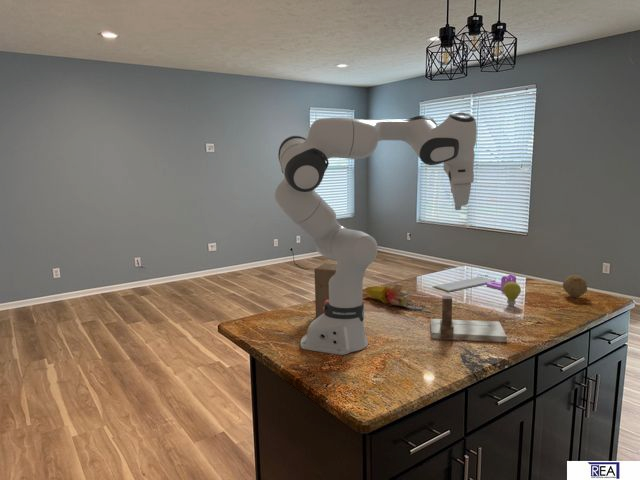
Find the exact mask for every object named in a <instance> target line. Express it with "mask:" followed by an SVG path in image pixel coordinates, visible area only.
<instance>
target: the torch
mask: <svg viewBox="0 0 640 480" xmlns="http://www.w3.org/2000/svg"><path fill="white" fill-rule="evenodd" d="M403 287H405V284H404V285H402V284H397V285H395V286H394V287H392V288H391V286H390V285H386V286H367V287H366V288H365V292H366V293H367V295H368V296H370V297H371V298H373V299H376V300H377V301H380V302H382V303H383V304H384V305H387V304H390V305H392V306H400V307H405V308H407V309H409V304H410V305H411V304H414V302H413V300H411V299H407V298H409V297H410V295H411V294H412V293H414V291H412V290H402V288H403Z"/></svg>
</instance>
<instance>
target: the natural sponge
mask: <svg viewBox="0 0 640 480" xmlns="http://www.w3.org/2000/svg"><path fill="white" fill-rule="evenodd" d="M562 287H563V290H564V291H565V292H566V293H567V294H568V295H569V296H570V297H571V298H574V299H576V298H579V297H580V296H583V295H584V294H586V293H587V291H588V285H587V283H586V280H585V278H583V276H580V275H578V274H572V275H569V276H567V277H566V278H565V279H564V282H562Z"/></svg>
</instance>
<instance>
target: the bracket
mask: <svg viewBox="0 0 640 480" xmlns="http://www.w3.org/2000/svg"><path fill="white" fill-rule="evenodd" d="M508 282H515V283H517V277H516V275H514V274H509V275H504V276H502V277H501V282H496V281H495V282H487V284H486V286H487V288H488V287H489V288H491V289H496V290H499V291H503V287H504V285H505V284H506V283H508Z"/></svg>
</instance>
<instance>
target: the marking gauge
mask: <svg viewBox="0 0 640 480" xmlns="http://www.w3.org/2000/svg"><path fill="white" fill-rule="evenodd" d="M441 305H442V306H441V309H442V310H441V319H442V320H440V331H441V340H454V339H453V334H454V326H453V322H452V320H453V318H452V317H453V296H451V295H450V296H449V295H443V296H442V302H441Z"/></svg>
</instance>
